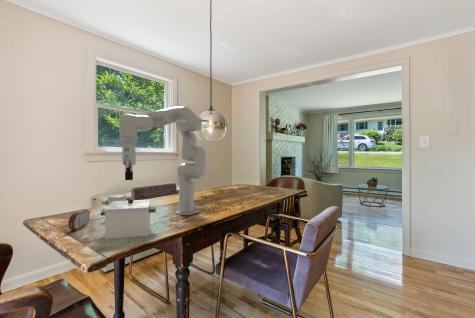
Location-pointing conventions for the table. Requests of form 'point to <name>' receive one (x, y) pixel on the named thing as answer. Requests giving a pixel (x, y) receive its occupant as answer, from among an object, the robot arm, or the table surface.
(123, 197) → the supplement box
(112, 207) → the lid
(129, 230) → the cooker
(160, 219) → the table surface
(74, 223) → the tin
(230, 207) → the table surface
